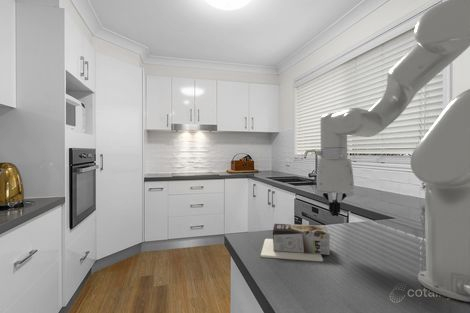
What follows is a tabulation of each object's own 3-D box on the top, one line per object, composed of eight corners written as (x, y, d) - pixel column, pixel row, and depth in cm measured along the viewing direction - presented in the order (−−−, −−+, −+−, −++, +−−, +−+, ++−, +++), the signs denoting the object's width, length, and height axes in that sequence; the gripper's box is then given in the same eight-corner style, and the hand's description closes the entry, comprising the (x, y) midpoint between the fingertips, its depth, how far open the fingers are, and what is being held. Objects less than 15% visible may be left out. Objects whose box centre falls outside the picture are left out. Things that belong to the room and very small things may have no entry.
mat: (322, 261, 69) (322, 259, 69) (260, 257, 72) (260, 255, 72) (316, 243, 84) (316, 241, 84) (265, 240, 88) (265, 238, 88)
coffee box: (329, 232, 72) (272, 229, 75) (330, 255, 72) (272, 251, 75) (324, 224, 81) (274, 222, 84) (325, 245, 81) (274, 242, 84)
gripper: (309, 154, 74) (309, 216, 74) (364, 153, 71) (365, 219, 71) (307, 155, 82) (307, 211, 81) (356, 154, 79) (357, 213, 78)
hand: (334, 215), depth 76 cm, fingers closed
